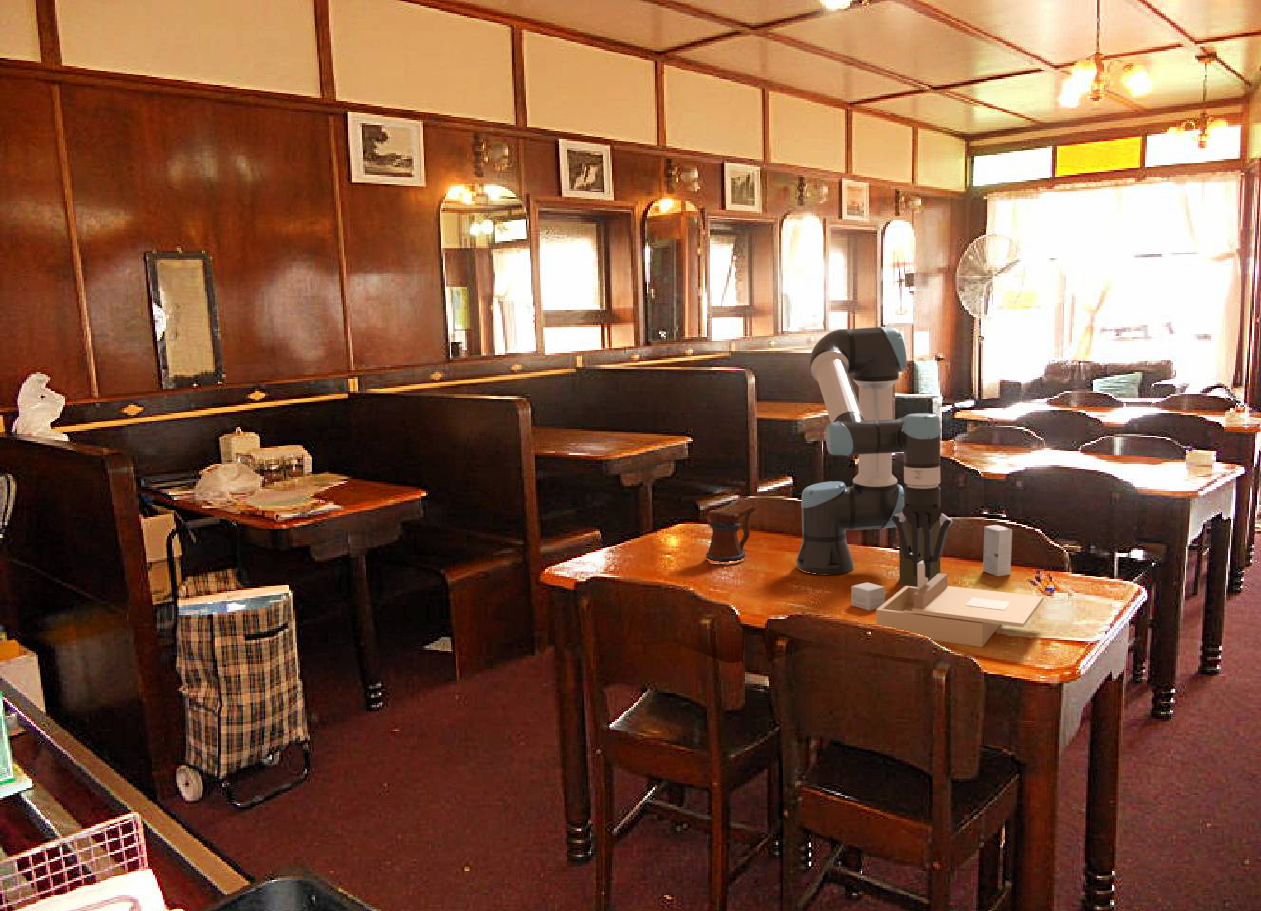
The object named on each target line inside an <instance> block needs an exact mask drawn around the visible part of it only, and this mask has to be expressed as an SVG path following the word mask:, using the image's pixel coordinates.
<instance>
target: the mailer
mask: <svg viewBox="0 0 1261 911" xmlns="http://www.w3.org/2000/svg"><path fill="white" fill-rule="evenodd" d="M917 591H918V587H912V586H903V587H902V588H900V590H899V591H897V592H896V593H894V595H893V596H891V597H890V598H888V599H887V600H885V603H884V604H882V605H881V606H880V607H879V608H877V609H875V612H876V613H875V614H876V615H875V616H876V618H875V620H876V624H877V625H882V626H887V627H892V628H896V629H899V630H904V631H909V632H913V633H917V634H920V635H923V636H927V637H929V638H931V639H933V640H932V641H935V642H936V641H938V642H943V643H949V644H956V645H957V644H958V645H965V646H970V647H971V646H972V647H976V648H977V647H978V648H983V647H984V646H985V644H986V643H987V642H988V641H989V639H990V638H991V637H992V635H993V634H994V633H995V632H996V631H997V629H998V628H999V627H1000V626H1001V625H1000V624H993V623H985V622H977V621H970V620H962V619H955V618H947V617H939V616H932V615H924V614H916V613H912V609H913V608H914V594H915V593H916V592H917ZM876 624H875V625H876Z"/></svg>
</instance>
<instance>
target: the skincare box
mask: <svg viewBox="0 0 1261 911" xmlns="http://www.w3.org/2000/svg"><path fill="white" fill-rule="evenodd" d="M983 532H984V533H983V557H982V558H983V559H982V561H983V562H982V571H983V572H985V573H987V574H990V575H992V576H995V577H1005V576H1010V575H1011V571H1012V570H1011V567H1012V566H1011V565H1012V564H1011V563H1012V546H1013V545H1012V541H1013V529H1012V528H1008V527H1005V526H1002V525H998V524H994V525H992V524H991V525H987V526H984V530H983Z"/></svg>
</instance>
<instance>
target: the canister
mask: <svg viewBox="0 0 1261 911" xmlns="http://www.w3.org/2000/svg"><path fill="white" fill-rule="evenodd" d="M905 524H906V527H907V531H908V535H909V539H910V543H911V547H912V531H911V524H910V523H909V521H908V520H907V519H906V517H905ZM933 527H934V528H933V554H934V550H935V546H936V542H937V538H938V534H939V530H940V528H941V525H940V518H939V520H938V521H937V522H936V524H935V525H934V526H933ZM898 554H899V556H898V558H899V559H898V560H899V562H898V563H899V578H898V583H899V584H900V585H902V586H903V587H905V586H912V587H918V576H914V575H913V562H912V560H910V559H906V558H905V557H904V554H903V550H902V546H901V542H900V538H899V537H898ZM921 557H922V559H921V561H924V533H923V528H922V529H921ZM938 573H940V574H941V559H939V560H938V561H937V562H933V563H932V576H931V577H930V578H928V582H929V581H930V580H931V579H932V578H933V577H935V576H936V575H937V574H938Z"/></svg>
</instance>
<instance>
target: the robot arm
mask: <svg viewBox="0 0 1261 911" xmlns="http://www.w3.org/2000/svg"><path fill="white" fill-rule="evenodd" d="M906 351H907V350H906V345H905V342H904V338H903V335H902V334H901V332H900V330H898V329H897V328H895V327H892V326H891V327H890V326H889V327H888V326H876V327H873V326H872V327H859V328H847V329H846V328H841V329H840V328H839V329H835V330H833V331H831V332H829V333H827V334H825V335H824V336H823V337H822V338H820V339H819V340H818V341H817V343H816V344H815V345H814V347H813V349H812V350H811V353H810V357H809V369H810V373H811V376H812V377H813V379H814V380H815V381H817V383H818V386H819V388H820V389H819V390H820V392H821V395H822V397H823V402H824V405H825V407H826V412H827V414H828V415H827V416H828V417H829V421H830V422H828V424H826V427H825V444H826V449H827V451H828V454H830V455H832V456H845V457H846V456H855V455H858V474H857V475H855V477H853V479H852V486H846V484H845V482H843V481H840V480H839V481H837V480H836V481H835V480H834V481H822V482H818V483H814V484H811V485H809V486H806V487H805V488H804V489H803V490H802V492H801V502H800V507H801V523H802V524H801V528H802V531H801V532H802V534H801V535H802V542H801V545H800V548H799V552H798V555H797V557H796V558H797V559H796V568H797V567H798V568H799V569H801V570H803V571H806V572H810V573H816V574H827V575H826V576H834V574H837V575H841V574H842V573H843V574H847V573H850V572H851V571H853V570H854V559H853V557H852V554H851V550H850V548H849V547H850V546H849V544H848V542H847V531H850V530H851V531H855V530H857V531H859V530H875V529H876V530H877V529H878V530H884V529H891V528H896V530H897V533H898V539H899V538H900V542H901V546H902V550H903V554H904V557H905V558H906V559H910V560H912V562H913V575H914V576H918V590H919V589H920V588H922V587H923V586H924V585H925V584H926V583H928V578H930V577H931V576H932V563H933V562H937V561H938V560H939V559H940V560H941V559H942V556H943V553H944V548H945V546H946V545H945V544H946V539H947V535H948V532H949V529H950V527H951V525H952V524H953V523H954V518H953V517H949V516H947V515H946V514H944V512H943V508H942V505H941V487H940V486H939V485H940V484H941V433H942V428H941V422H940V420H941V419H940V417H939V416H938V414H935V413H929V412H928V413H927V412H924V413H923V412H922V413H921V412H920V413H919V412H917V413H908V414H906V415H905V416H903V417H899V418H897V419H893V391H894V390H893V386H894V385H895V384H896V383H897V382H898V381H899V378H900V377H899V375H900V373H902V372H904V371H905V370H906V367H907V360H908V359H907V352H906ZM850 375H852V380H851V378H850ZM852 381H853V382H855V384H856V385H857V386H858V398H857V393H856V391H855V389H854V386H853V383H852ZM896 453H900V454H901V453H903V482H904V484H905V486H904V488H903V485H901V484H898V478H896V476H894V475H893V473H892V470H893V468H892V467H893V454H896ZM905 517H906V519H907V520H908V521H909V523H910V524H911V531H912V547H911V543H910V539H909V535H908V531H907V527H906V524H905ZM939 518H940V530H939V534H938V538H937V542H936V546H935V550H934V554H933V528H934V527H933V526H934V525H935V524H936V522H937V521H938V520H939ZM922 528H923V533H924V561H921V559H922V557H921V529H922ZM852 569H853V570H852ZM849 571H850V572H849ZM846 572H847V573H846ZM832 574H833V575H832Z"/></svg>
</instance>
